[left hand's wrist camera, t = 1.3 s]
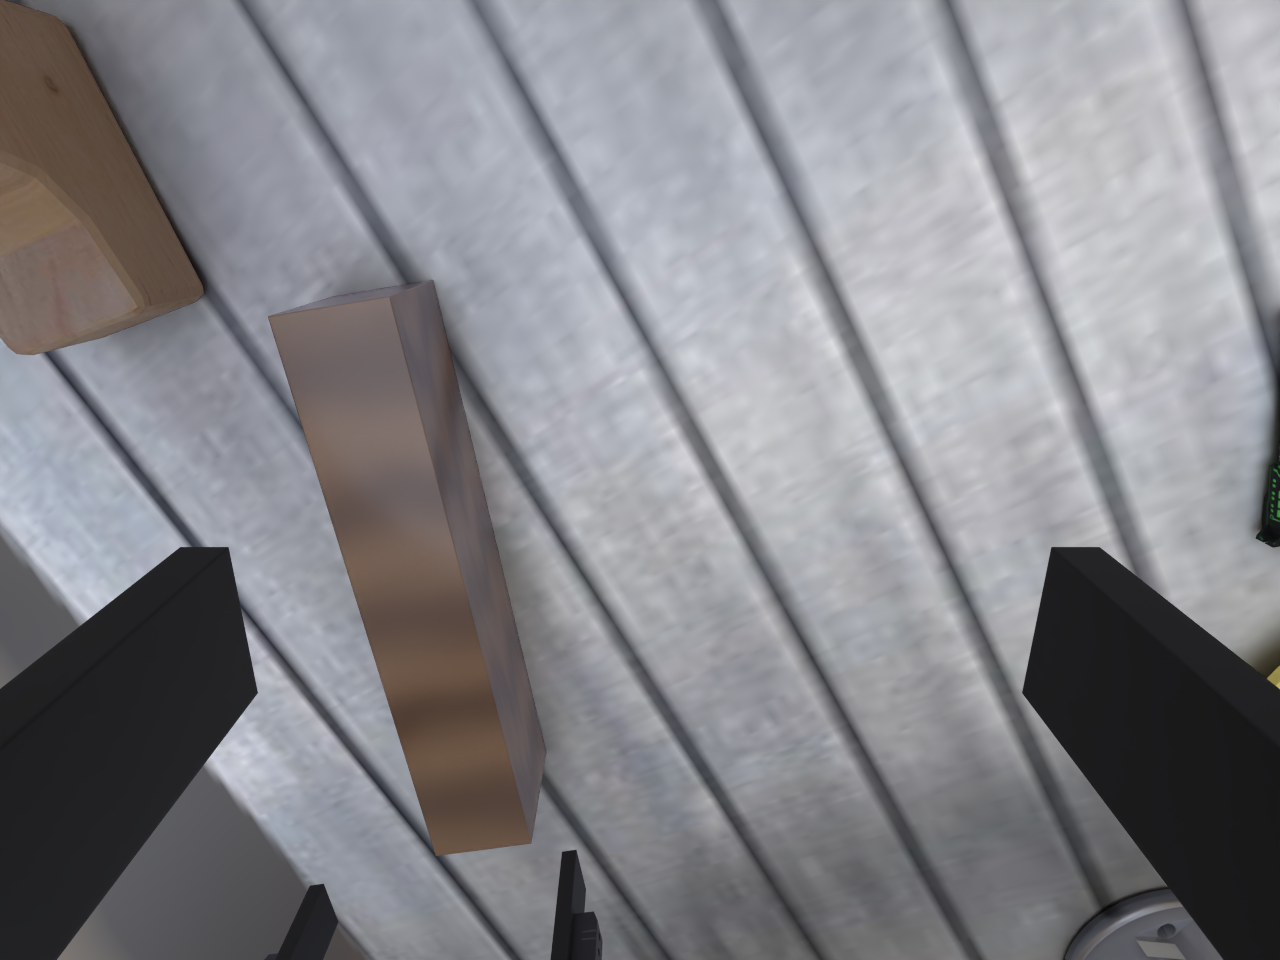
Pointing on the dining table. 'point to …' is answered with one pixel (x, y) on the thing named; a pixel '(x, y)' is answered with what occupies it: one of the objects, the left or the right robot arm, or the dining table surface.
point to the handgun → (1272, 508)
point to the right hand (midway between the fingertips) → (448, 886)
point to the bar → (420, 554)
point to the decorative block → (73, 202)
